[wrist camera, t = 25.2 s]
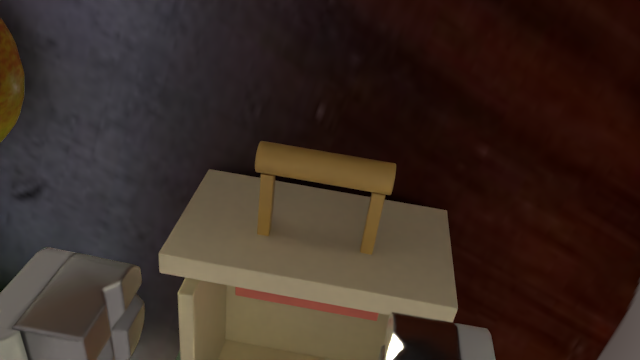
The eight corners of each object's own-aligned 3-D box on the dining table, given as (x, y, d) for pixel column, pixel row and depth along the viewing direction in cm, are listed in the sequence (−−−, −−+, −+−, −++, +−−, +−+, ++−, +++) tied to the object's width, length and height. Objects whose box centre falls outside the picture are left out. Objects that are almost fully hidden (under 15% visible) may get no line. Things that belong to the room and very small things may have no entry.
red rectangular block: (386, 255, 30) (385, 287, 28) (378, 288, 31) (376, 321, 29) (248, 230, 30) (235, 261, 28) (246, 264, 32) (234, 295, 29)
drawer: (208, 87, 27) (150, 160, 21) (471, 131, 26) (491, 219, 20) (208, 330, 37) (170, 426, 31) (398, 366, 36) (397, 471, 30)
